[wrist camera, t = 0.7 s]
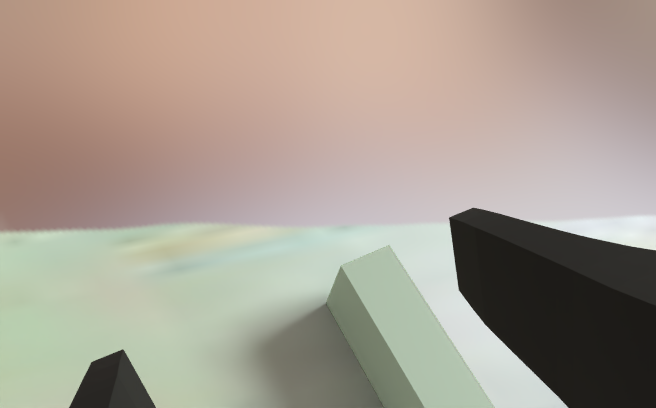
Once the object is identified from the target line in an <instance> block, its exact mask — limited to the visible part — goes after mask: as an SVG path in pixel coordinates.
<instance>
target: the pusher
mask: <svg viewBox="0 0 656 408" xmlns="http://www.w3.org/2000/svg"><path fill="white" fill-rule="evenodd" d="M326 304H327V306H328V308H329V309H330V311H331V313H332V315H333V317H334V318H335V320H336V322H337V324H338V326H339V327H340V329H341V331H342V333H343V335H344V336H345V338H346V340H347V342H348V344H349V345H350V347H351V349H352V351H353V353H354V354H355V356H356V358H357V360H358V362H359V363H360V365H361V367H362V369H363V371H364V372H365V374H366V376H367V378H368V379H369V381H370V383H371V385H372V387H373V388H374V390H375V392H376V394H377V396H378V397H379V399H380V401H381V403H382V405H383V406H384V408H495V407H494V406H493V404H492V403H491V401H490V399H489V398H488V396H487V395H486V393H485V392H484V390H483V389H482V387H481V386H480V384H479V383H478V381H477V379H476V378H475V376H474V375H473V373H472V372H471V370H470V369H469V367H468V366H467V364H466V363H465V361H464V359H463V358H462V356H461V355H460V353H459V352H458V350H457V349H456V347H455V346H454V344H453V342H452V341H451V339H450V338H449V336H448V335H447V333H446V332H445V330H444V329H443V327H442V326H441V324H440V322H439V321H438V319H437V318H436V316H435V315H434V313H433V312H432V310H431V309H430V307H429V306H428V304H427V302H426V301H425V299H424V298H423V296H422V295H421V293H420V292H419V290H418V289H417V287H416V286H415V284H414V282H413V281H412V279H411V278H410V276H409V275H408V273H407V272H406V270H405V269H404V267H403V265H402V264H401V262H400V261H399V259H398V258H397V256H396V255H395V253H394V252H393V250H392V249H391V247H390V245H388V246H386V247H383V248H381V249H379V250H376V251H374V252H372V253H369V254H367V255H365V256H362V257H360V258H358V259H356V260H353V261H351V262H349V263H346V264H344V265H342V266H341V267H340V269H339V272H338V274H337V277H336V279H335V282H334V284H333V287H332V289H331V292H330V294H329V297H328V299H327V302H326Z"/></svg>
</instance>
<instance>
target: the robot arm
mask: <svg viewBox="0 0 656 408" xmlns="http://www.w3.org/2000/svg"><path fill="white" fill-rule="evenodd" d="M449 220H450V227H451V235H452V242H453V250H454V257H455V265H456V272H457V280H458V287H459V291H460V292H461V294H462V295H463V296H464V298H465V299H466V300H467V302H468V303H469V304H470V306H471V307H472V308H473V310H474V311H475V312H476V313H477V315H478V316H479V317H480V318H481V320H482V321H483V322H484V323H485V325H486V326H487V327H488V328H489V329H490V330H491V331H492V332H493V333H494V334H495V335H496V336H497V337H498V338H499V339H500V340H501V341H502V342H503V343H504V344H505V345H506V346H507V347H508V348H509V349H510V350H511V351H512V352H513V353H514V354H515V355H516V356H517V357H518V358H519V359H520V360H521V361H522V362H523V363H524V364H525V365H526V366H528V367H529V368H530V369H531V370H532V371H533V372H534V373H535V374H536V375H537V376H538V377H539V378H540V379H541V380H542V381H543V382H544V383H545V384H546V385H547V386H548V387H549V388H550V389H551V390H552V391H553V392H554V393H555V394H556V395H557V396H558V397H559V398H560V399H561V400H562V401H563V402H564V403H565V404H566V405H567V407H568V408H656V250H649V249H642V248H637V247H631V246H626V245H621V244H616V243H611V242H607V241H602V240H597V239H593V238H588V237H584V236H580V235H576V234H572V233H568V232H564V231H560V230H556V229H552V228H549V227H545V226H541V225H538V224H534V223H530V222H527V221H523V220H520V219H516V218H512V217H509V216H505V215H502V214H498V213H494V212H490V211H486V210H482V209H477V208H472V209H469V210H467V211H464V212H462V213H459V214H457V215H454V216H452V217H450V218H449ZM69 408H156V407H155V405H154V403H153V402H152V400H151V398H150V396H149V394H148V393H147V391H146V389H145V387H144V385H143V384H142V382H141V380H140V378H139V376H138V375H137V373H136V371H135V369H134V367H133V366H132V364H131V362H130V360H129V359H128V357H127V355H126V353H125V351H124V350H120V351H118V352H115V353H113V354H110V355H108V356H106V357H103V358H101V359H98V360H96V361H93V362H92V363H91V365H90V367H89V369H88V371H87V373H86V374H85V376H84V378H83V380H82V382H81V385H80V387H79V389H78V391H77V393H76V395H75V397H74V399H73V401H72V403H71V405H70V407H69Z"/></svg>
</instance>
